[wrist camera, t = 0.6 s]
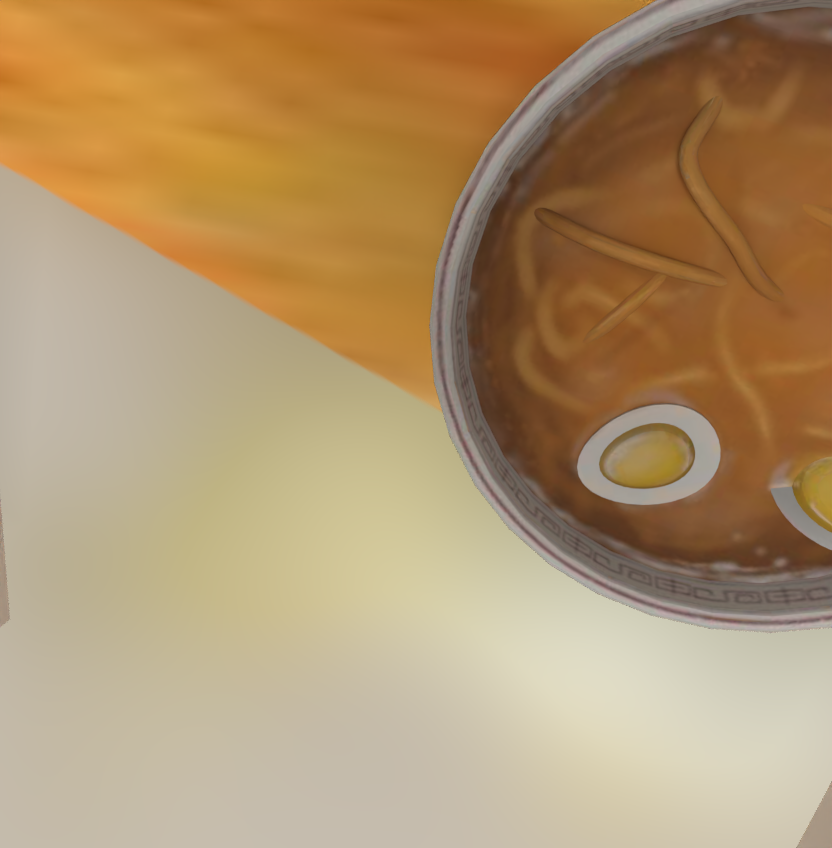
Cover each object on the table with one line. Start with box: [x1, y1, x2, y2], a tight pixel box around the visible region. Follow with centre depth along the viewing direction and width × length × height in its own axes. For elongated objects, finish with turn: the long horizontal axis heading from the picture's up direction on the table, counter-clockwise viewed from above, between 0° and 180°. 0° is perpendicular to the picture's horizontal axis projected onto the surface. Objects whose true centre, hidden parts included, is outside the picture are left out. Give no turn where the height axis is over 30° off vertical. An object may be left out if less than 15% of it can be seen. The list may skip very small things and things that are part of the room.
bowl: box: [430, 0, 832, 633], centre depth 30 cm, size 23×23×10 cm
